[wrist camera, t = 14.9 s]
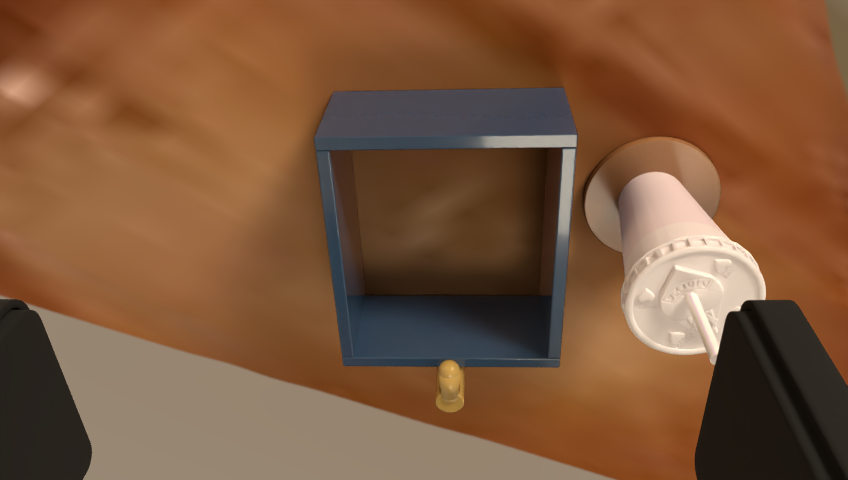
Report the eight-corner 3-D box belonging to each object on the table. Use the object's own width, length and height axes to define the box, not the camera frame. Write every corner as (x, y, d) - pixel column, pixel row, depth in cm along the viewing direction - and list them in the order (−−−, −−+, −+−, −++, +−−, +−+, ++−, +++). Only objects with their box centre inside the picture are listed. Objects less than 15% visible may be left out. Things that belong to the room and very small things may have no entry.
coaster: (588, 137, 41) (589, 140, 40) (729, 135, 40) (732, 138, 40) (578, 252, 45) (579, 256, 44) (706, 251, 44) (709, 256, 44)
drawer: (333, 91, 40) (304, 158, 33) (564, 87, 39) (584, 154, 32) (358, 323, 49) (339, 414, 42) (548, 323, 48) (562, 417, 41)
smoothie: (685, 129, 40) (776, 282, 28) (725, 219, 42) (824, 392, 31) (575, 181, 42) (617, 344, 30) (621, 264, 45) (675, 442, 33)
